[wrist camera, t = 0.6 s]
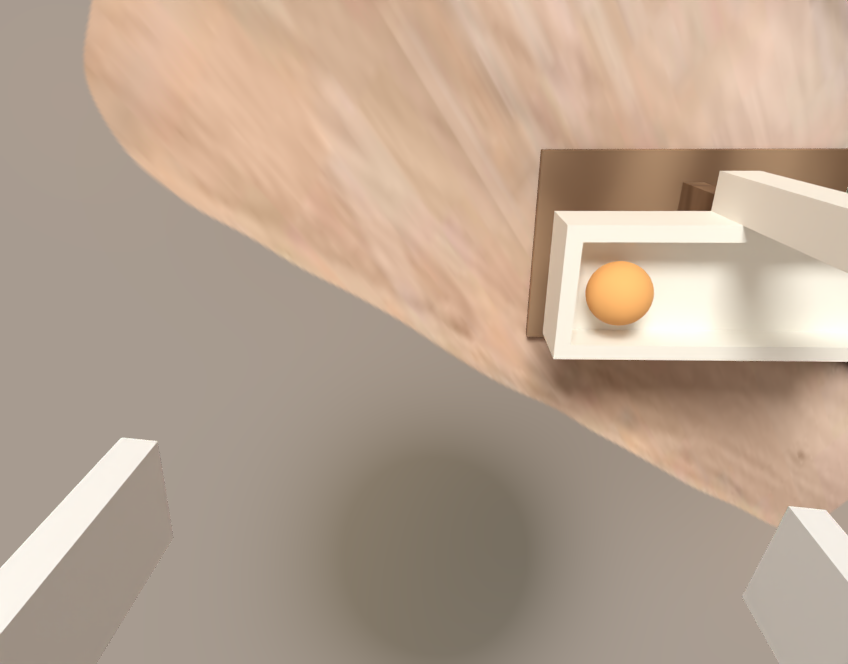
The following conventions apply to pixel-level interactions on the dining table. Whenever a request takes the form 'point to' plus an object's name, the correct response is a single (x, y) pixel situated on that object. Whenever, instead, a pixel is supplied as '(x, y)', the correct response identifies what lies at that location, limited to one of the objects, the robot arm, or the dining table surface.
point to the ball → (619, 293)
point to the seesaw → (711, 276)
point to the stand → (652, 188)
